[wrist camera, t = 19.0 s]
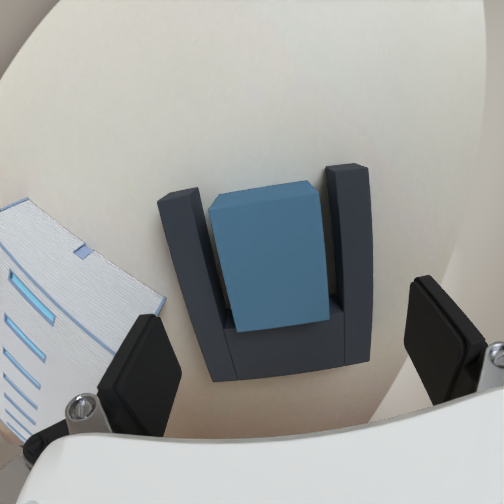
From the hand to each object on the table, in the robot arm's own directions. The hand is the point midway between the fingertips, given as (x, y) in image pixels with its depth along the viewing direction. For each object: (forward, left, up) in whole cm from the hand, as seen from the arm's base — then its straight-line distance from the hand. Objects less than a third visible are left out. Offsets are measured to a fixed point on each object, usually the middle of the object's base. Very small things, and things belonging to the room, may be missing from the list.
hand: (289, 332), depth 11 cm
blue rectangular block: (0, 0, -10) cm, 10 cm away
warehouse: (+24, +9, -10) cm, 28 cm away
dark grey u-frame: (0, +3, -10) cm, 10 cm away
